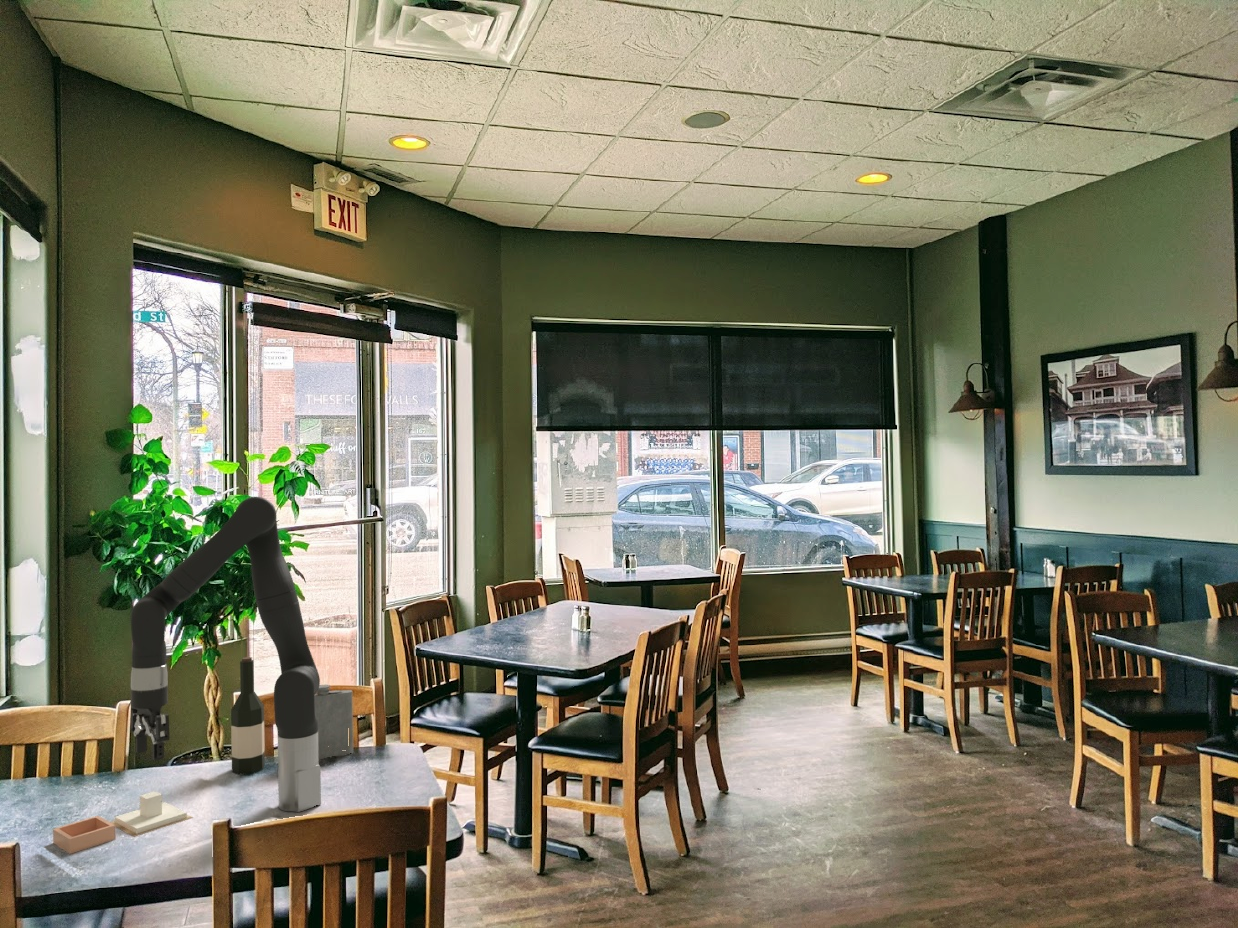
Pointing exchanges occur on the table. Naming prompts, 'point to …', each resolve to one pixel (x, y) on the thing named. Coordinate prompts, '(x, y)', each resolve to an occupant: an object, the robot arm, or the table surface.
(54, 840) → the dish
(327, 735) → the hip flask
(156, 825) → the lid
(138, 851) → the table surface
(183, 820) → the mat
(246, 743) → the wine bottle
